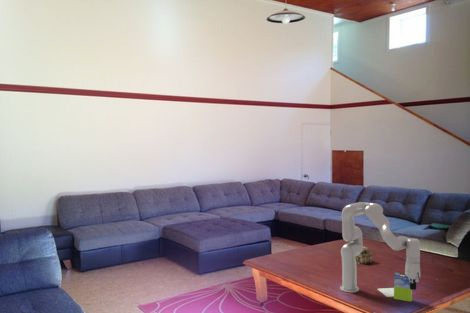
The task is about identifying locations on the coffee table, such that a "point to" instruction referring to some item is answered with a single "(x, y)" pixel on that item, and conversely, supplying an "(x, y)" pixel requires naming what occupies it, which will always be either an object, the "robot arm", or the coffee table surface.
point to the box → (402, 287)
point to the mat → (387, 291)
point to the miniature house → (364, 256)
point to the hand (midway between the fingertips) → (413, 289)
